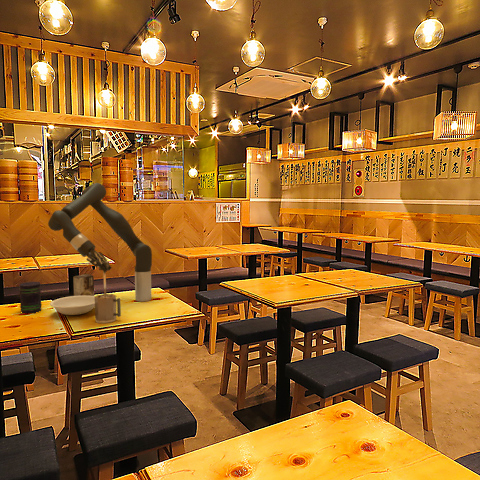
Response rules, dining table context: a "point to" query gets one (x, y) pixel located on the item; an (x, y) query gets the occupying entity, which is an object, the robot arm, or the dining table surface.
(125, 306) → the dining table surface
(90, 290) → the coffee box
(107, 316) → the brown mug
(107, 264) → the plunger
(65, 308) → the soup bowl
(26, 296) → the storage jar
